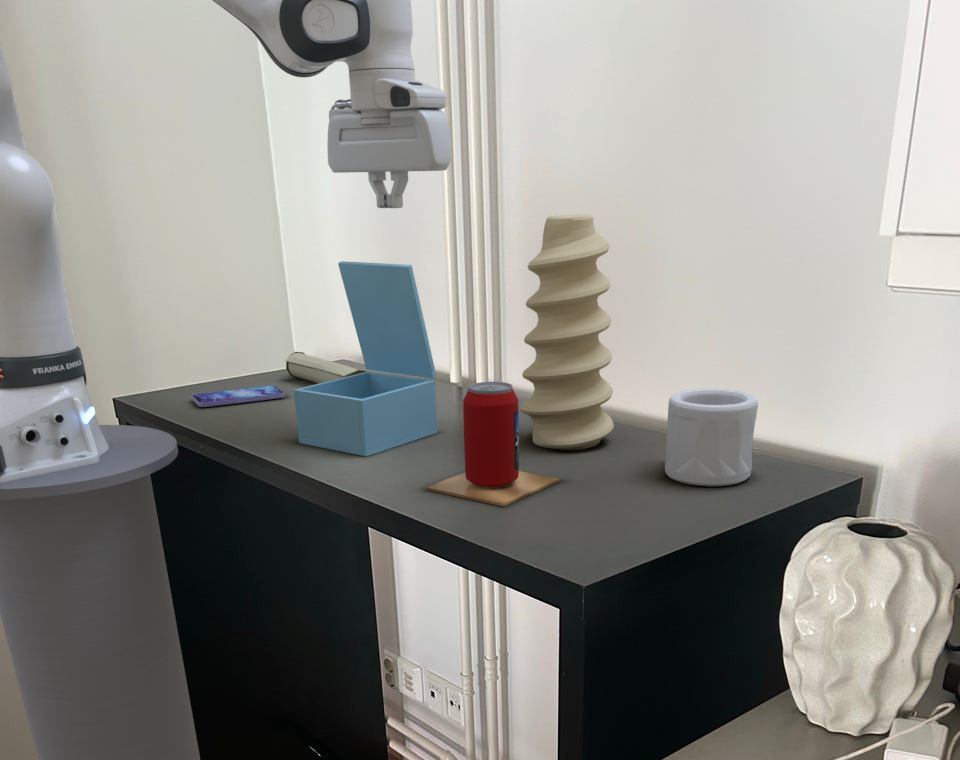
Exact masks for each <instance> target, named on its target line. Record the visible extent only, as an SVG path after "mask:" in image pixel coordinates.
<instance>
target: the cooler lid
mask: <svg viewBox="0 0 960 760" xmlns="http://www.w3.org/2000/svg"><path fill="white" fill-rule="evenodd" d="M337 266H338V268H339V273H340V277H341V280H342V283H343V287H344V290H345V295H346V299H347V302H348V306H349V310H350V313H351V317H352V322H353V325H354V329H355V332H356V336H357V339H358V343H359V347H360V351H361V354H362V359H363V362H364V366H365V369H366V370H367V371H374V372H384V373H389V374H390V373H392V374H399V375H404V376H405V375H406V376H412V377H419V378H420V377H421V378H428V379H435V378H437V372H436V367H435V363H434V359H433V355H432V350H431V345H430V341H429V335H428V332H427V328H426V323H425V319H424V313H423V309H422V305H421V301H420V296H419V292H418V287H417V282H416V278H415V274H414V269H413V264H401V263H382V262H380V263H379V262H363V261H362V262H361V261H345V260H344V261H339V262H338V263H337Z"/></svg>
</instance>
